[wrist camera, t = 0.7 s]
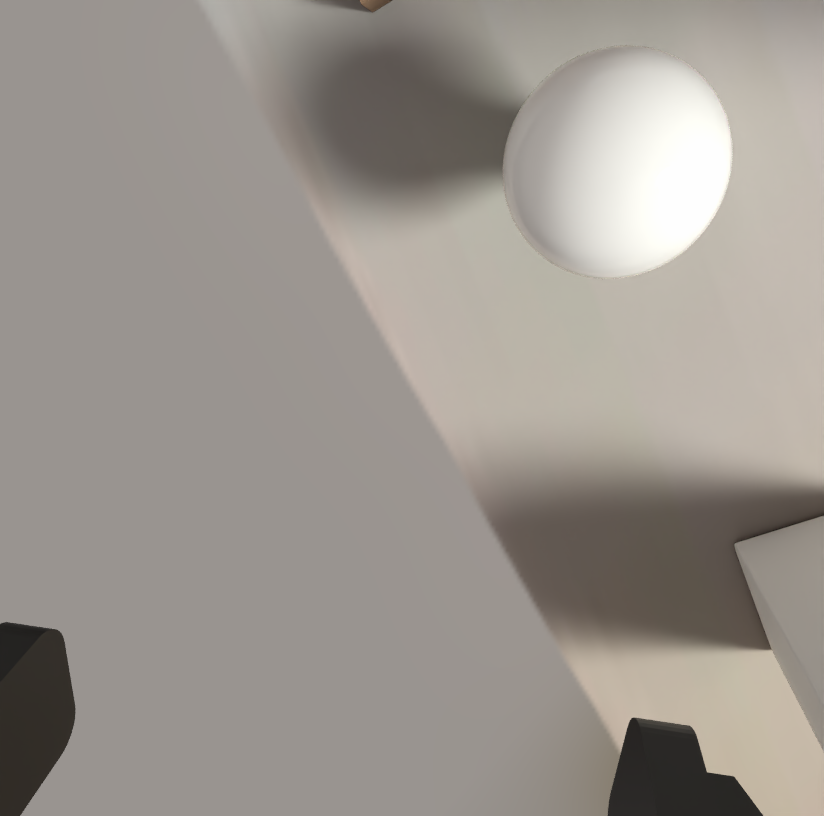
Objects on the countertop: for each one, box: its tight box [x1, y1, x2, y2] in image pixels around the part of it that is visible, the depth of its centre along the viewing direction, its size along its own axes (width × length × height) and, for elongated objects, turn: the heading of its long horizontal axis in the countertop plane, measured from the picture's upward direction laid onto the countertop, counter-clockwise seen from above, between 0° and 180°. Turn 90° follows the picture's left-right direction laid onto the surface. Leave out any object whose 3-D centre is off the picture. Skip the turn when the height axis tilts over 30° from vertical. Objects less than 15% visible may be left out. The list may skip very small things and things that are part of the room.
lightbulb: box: [503, 45, 733, 279], centre depth 23 cm, size 6×6×11 cm
